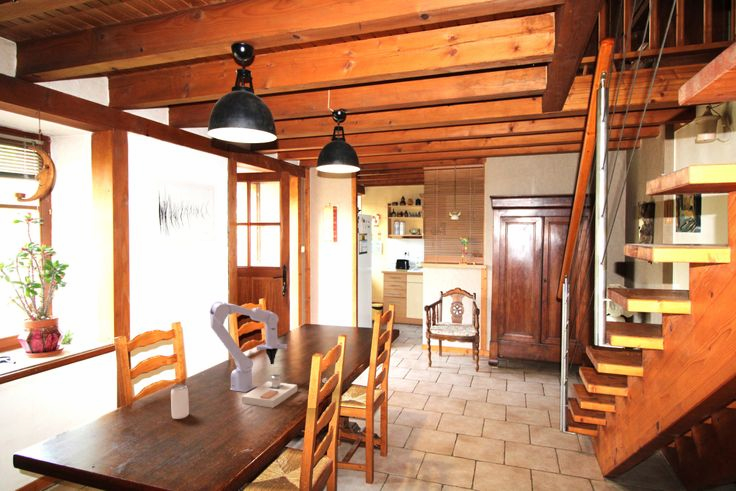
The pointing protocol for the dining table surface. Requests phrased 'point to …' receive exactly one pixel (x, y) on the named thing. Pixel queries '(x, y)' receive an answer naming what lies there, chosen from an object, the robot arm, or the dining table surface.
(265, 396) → the block
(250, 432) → the dining table surface
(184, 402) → the can
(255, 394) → the plate
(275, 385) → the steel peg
